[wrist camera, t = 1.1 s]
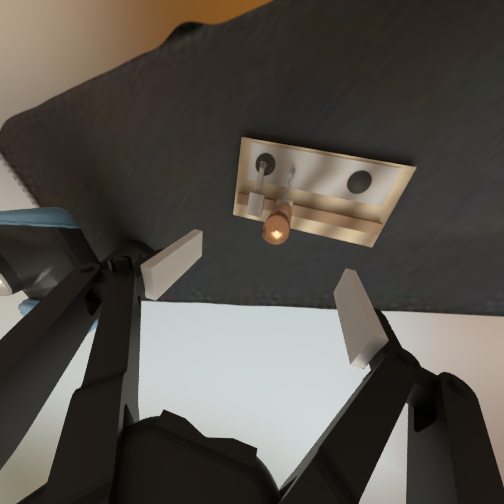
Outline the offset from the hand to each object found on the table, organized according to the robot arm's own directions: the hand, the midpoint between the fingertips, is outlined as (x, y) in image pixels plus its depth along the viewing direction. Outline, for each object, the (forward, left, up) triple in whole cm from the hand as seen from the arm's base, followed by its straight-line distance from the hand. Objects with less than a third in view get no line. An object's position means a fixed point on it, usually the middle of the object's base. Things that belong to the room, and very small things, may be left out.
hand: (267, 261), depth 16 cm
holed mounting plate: (+4, +3, -22) cm, 23 cm away
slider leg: (0, +3, -20) cm, 21 cm away
